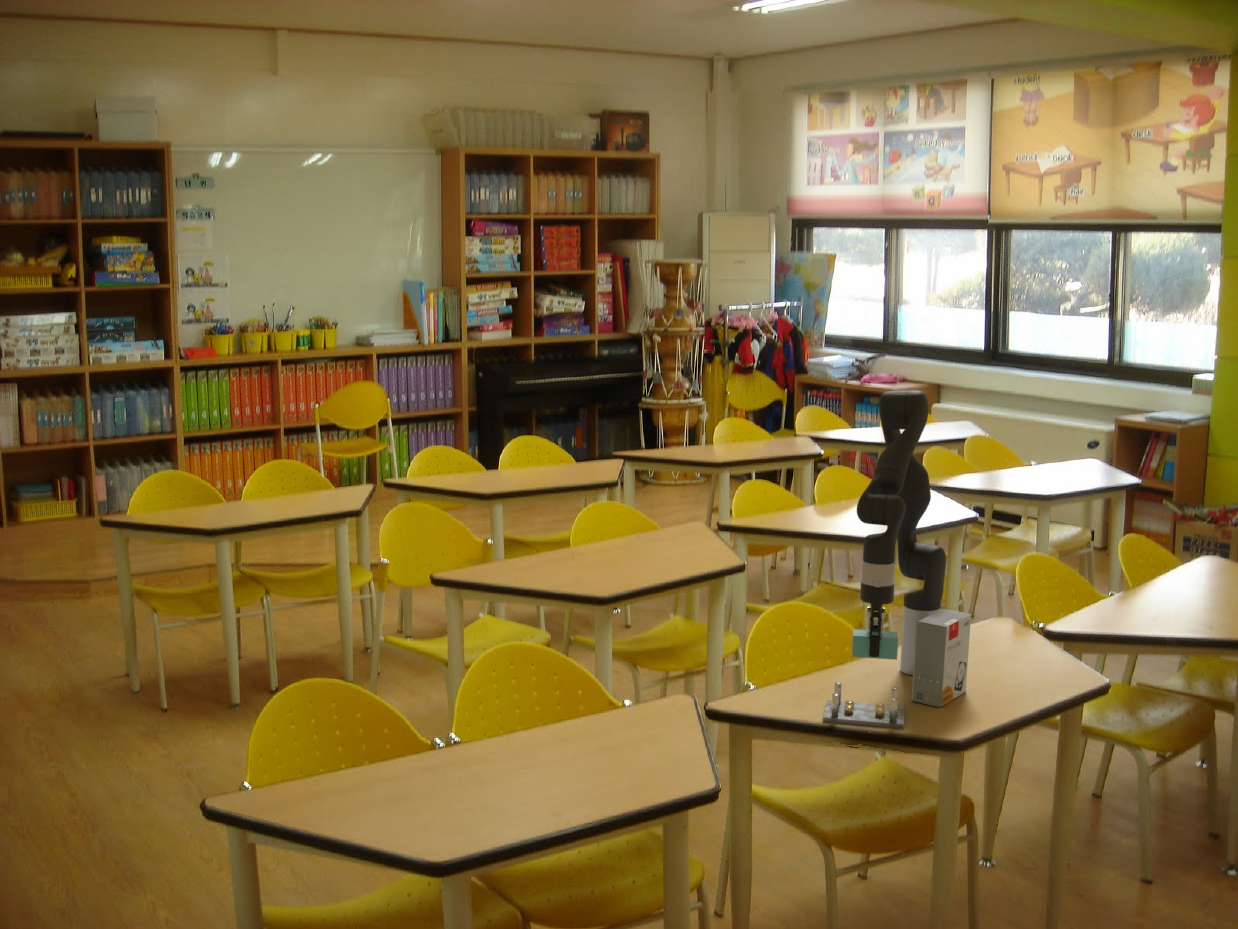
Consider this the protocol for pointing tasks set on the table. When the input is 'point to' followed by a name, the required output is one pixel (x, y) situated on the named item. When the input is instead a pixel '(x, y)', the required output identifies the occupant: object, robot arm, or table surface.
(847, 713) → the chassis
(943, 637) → the hard drive box
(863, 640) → the green box
